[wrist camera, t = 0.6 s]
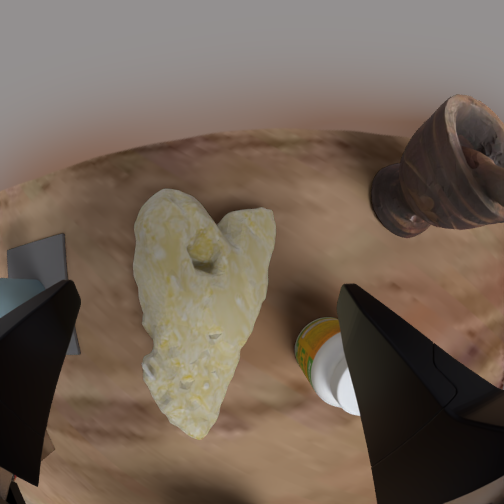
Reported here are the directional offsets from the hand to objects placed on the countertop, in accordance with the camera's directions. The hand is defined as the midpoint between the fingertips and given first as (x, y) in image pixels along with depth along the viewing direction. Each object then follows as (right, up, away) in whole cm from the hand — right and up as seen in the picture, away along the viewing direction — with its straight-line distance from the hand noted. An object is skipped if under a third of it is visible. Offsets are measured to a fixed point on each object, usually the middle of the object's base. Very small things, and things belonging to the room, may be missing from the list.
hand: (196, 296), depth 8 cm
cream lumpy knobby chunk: (-1, -3, +14) cm, 15 cm away
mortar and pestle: (+16, +5, +15) cm, 23 cm away
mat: (-21, -4, +14) cm, 25 cm away
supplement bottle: (+8, -7, +14) cm, 18 cm away
